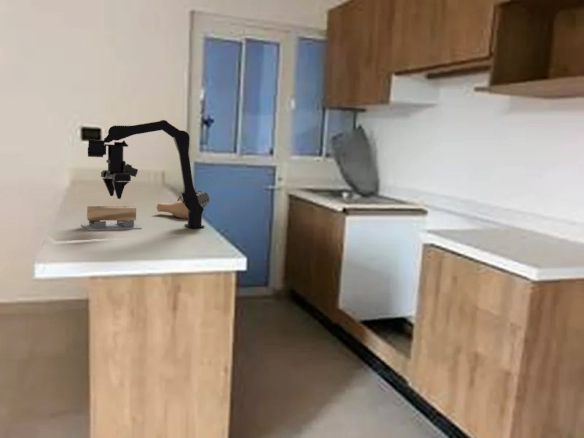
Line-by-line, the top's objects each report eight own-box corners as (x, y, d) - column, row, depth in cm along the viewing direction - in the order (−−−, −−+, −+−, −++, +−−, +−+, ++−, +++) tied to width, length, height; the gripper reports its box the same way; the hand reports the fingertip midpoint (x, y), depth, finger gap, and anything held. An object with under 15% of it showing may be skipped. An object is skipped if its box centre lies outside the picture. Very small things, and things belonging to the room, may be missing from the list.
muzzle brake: (209, 210, 283) (210, 190, 281) (194, 217, 255) (195, 195, 254) (191, 209, 284) (192, 189, 282) (174, 216, 256) (175, 194, 254)
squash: (192, 221, 243) (192, 201, 242) (151, 217, 248) (152, 197, 247) (202, 218, 253) (203, 199, 252) (163, 214, 258) (164, 195, 257)
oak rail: (136, 220, 218) (136, 207, 217) (87, 220, 210) (88, 207, 210) (134, 218, 222) (134, 205, 221) (87, 218, 214) (87, 205, 214)
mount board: (141, 228, 217) (141, 221, 216) (89, 230, 205) (89, 223, 205) (131, 223, 227) (131, 216, 227) (81, 225, 216) (81, 217, 216)
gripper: (144, 159, 211) (143, 199, 214) (128, 157, 226) (127, 194, 229) (115, 159, 205) (115, 200, 207) (100, 156, 220) (100, 194, 222)
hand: (115, 197), depth 216 cm, fingers open, 9 cm apart
